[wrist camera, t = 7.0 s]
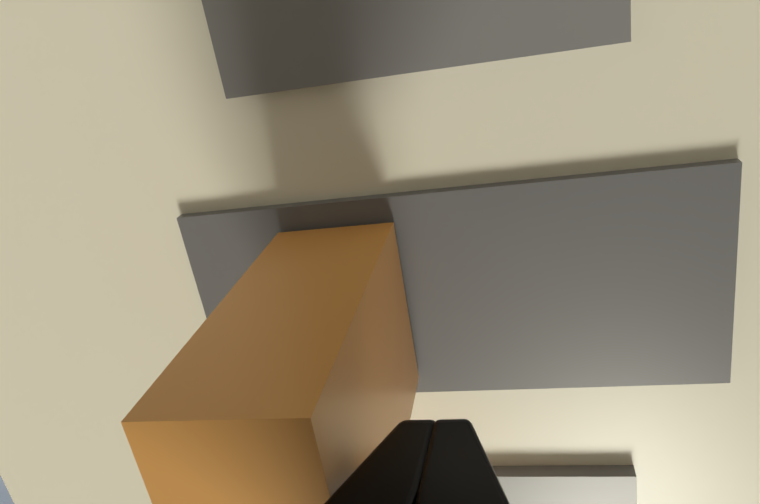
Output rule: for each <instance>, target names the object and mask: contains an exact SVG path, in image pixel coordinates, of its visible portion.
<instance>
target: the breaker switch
mask: <svg viewBox="0 0 760 504" xmlns="http://www.w3.org/2000/svg"><path fill="white" fill-rule="evenodd" d="M418 379H419V374H418V368H417V362H416V356H415V350H414V344H413V338H412V332H411V325H410V319H409V313H408V307H407V301H406V295H405V289H404V283H403V277H402V270H401V264H400V258H399V252H398V246H397V240H396V234H395V228H394V222H391V223H379V224H368V225H357V226H346V227H335V228H324V229H313V230H302V231H290V232H279V233H277V235H276V236H275V237H274V238H273V239H272V241H271V242H270V243H269V244H268V245H267V247H266V248H265V249H264V250H263V251H262V253H261V254H260V255H259V256H258V257H257V259H256V260H255V261H254V262H253V263H252V265H251V266H250V267H249V268H248V269H247V271H246V272H245V273H244V274H243V275H242V277H241V278H240V279H239V280H238V281H237V283H236V284H235V285H234V286H233V288H232V289H231V290H230V291H229V292H228V294H227V295H226V296H225V297H224V298H223V300H222V301H221V302H220V303H219V304H218V306H217V307H216V308H215V309H214V310H213V312H212V313H211V314H210V315H209V316H208V318H207V319H206V320H205V321H204V322H203V324H202V325H201V326H200V327H199V328H198V330H197V331H196V332H195V333H194V334H193V336H192V337H191V338H190V339H189V341H188V342H187V343H186V344H185V345H184V347H183V348H182V349H181V350H180V351H179V353H178V354H177V355H176V356H175V357H174V359H173V360H172V361H171V362H170V363H169V365H168V366H167V367H166V368H165V369H164V371H163V372H162V373H161V374H160V375H159V377H158V378H157V379H156V380H155V381H154V383H153V384H152V385H151V386H150V388H149V389H148V390H147V391H146V392H145V394H144V395H143V396H142V397H141V398H140V400H139V401H138V402H137V403H136V404H135V406H134V407H133V408H132V409H131V410H130V412H129V413H128V414H127V415H126V416H125V418H124V419H123V420H122V421H121V424H122V427H123V429H124V432H125V434H126V437H127V440H128V442H129V445H130V447H131V450H132V453H133V455H134V458H135V460H136V463H137V466H138V468H139V471H140V473H141V476H142V479H143V481H144V484H145V486H146V489H147V492H148V494H149V497H150V499H151V502H152V504H324V503H325V502H326V501H327V500H328V499H329V498H330V497H331V496H332V495H333V493H334V492H335V491H336V490H337V489H338V488H339V487H340V486H341V485H342V484H343V483H344V482H345V481H346V479H347V478H348V477H349V476H350V475H351V474H352V473H353V472H354V471H355V470H356V469H357V468H358V467H359V465H360V464H361V463H362V462H363V461H364V460H365V459H366V458H367V457H368V456H369V455H370V454H371V453H372V451H373V450H374V449H375V448H376V447H377V446H378V445H379V444H380V443H381V442H382V441H383V440H384V439H385V437H386V436H387V435H388V434H389V433H390V432H391V431H392V430H393V429H394V428H395V427H396V426H397V425H398V424H399V423H400V422H402V421H404V420H410V418H411V413H412V408H413V404H414V399H415V394H416V389H417V384H418Z"/></svg>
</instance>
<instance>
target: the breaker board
mask: <svg viewBox="0 0 760 504" xmlns="http://www.w3.org/2000/svg"><path fill="white" fill-rule="evenodd" d="M391 222H394V228H395V234H396V240H397V246H398V252H399V258H400V264H401V270H402V277H403V283H404V289H405V295H406V301H407V307H408V313H409V319H410V325H411V332H412V338H413V344H414V350H415V356H416V362H417V368H418V374H419V379H418V384H417V389H416V394H415V399H414V404H413V408H412V413H411V418H410V420H434V421H435V422H436V421H437V420H440V419H467V420H469V421H470V422H471V423H472V425H473V427H474V429H475V431H476V433H477V436H478V438H479V440H480V442H481V444H482V446H483V448H484V450H485V452H486V455H487V457H488V459H489V461H490V463H491V465H492V467H493V469H494V471H495V473H496V476H497V478H498V480H499V482H500V484H501V486H502V488H503V490H504V492H505V495H506V497H507V499H508V501H509V503H510V504H760V0H0V475H1V477H2V479H3V481H4V483H5V485H6V487H7V489H8V491H9V493H10V495H11V498H12V500H13V502H14V504H152V502H151V499H150V497H149V494H148V492H147V489H146V486H145V484H144V481H143V479H142V476H141V473H140V471H139V468H138V466H137V463H136V460H135V458H134V455H133V453H132V450H131V447H130V445H129V442H128V440H127V437H126V434H125V432H124V429H123V427H122V424H121V421H122V420H123V419H124V418H125V416H126V415H127V414H128V413H129V412H130V410H131V409H132V408H133V407H134V406H135V404H136V403H137V402H138V401H139V400H140V398H141V397H142V396H143V395H144V394H145V392H146V391H147V390H148V389H149V388H150V386H151V385H152V384H153V383H154V381H155V380H156V379H157V378H158V377H159V375H160V374H161V373H162V372H163V371H164V369H165V368H166V367H167V366H168V365H169V363H170V362H171V361H172V360H173V359H174V357H175V356H176V355H177V354H178V353H179V351H180V350H181V349H182V348H183V347H184V345H185V344H186V343H187V342H188V341H189V339H190V338H191V337H192V336H193V334H194V333H195V332H196V331H197V330H198V328H199V327H200V326H201V325H202V324H203V322H204V321H205V320H206V319H207V318H208V316H209V315H210V314H211V313H212V312H213V310H214V309H215V308H216V307H217V306H218V304H219V303H220V302H221V301H222V300H223V298H224V297H225V296H226V295H227V294H228V292H229V291H230V290H231V289H232V288H233V286H234V285H235V284H236V283H237V281H238V280H239V279H240V278H241V277H242V275H243V274H244V273H245V272H246V271H247V269H248V268H249V267H250V266H251V265H252V263H253V262H254V261H255V260H256V259H257V257H258V256H259V255H260V254H261V253H262V251H263V250H264V249H265V248H266V247H267V245H268V244H269V243H270V242H271V241H272V239H273V238H274V237H275V236H276V235H277V233H279V232H290V231H302V230H313V229H324V228H335V227H346V226H357V225H368V224H379V223H391Z"/></svg>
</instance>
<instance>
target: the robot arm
mask: <svg viewBox="0 0 760 504" xmlns="http://www.w3.org/2000/svg"><path fill="white" fill-rule="evenodd" d="M324 504H510V503H509V501H508V499H507V497H506V495H505V492H504V490H503V488H502V486H501V484H500V482H499V480H498V478H497V476H496V473H495V471H494V469H493V467H492V465H491V463H490V461H489V459H488V457H487V455H486V452H485V450H484V448H483V446H482V444H481V442H480V440H479V438H478V436H477V433H476V431H475V429H474V427H473V425H472V423H471V422H470V421H469V420H467V419H440V420H437V421H436V422H435V421H434V420H404V421H402V422H400V423H399V424H398V425H397V426H396V427H395V428H394V429H393V430H392V431H391V432H390V433H389V434H388V435H387V436H386V437H385V439H384V440H383V441H382V442H381V443H380V444H379V445H378V446H377V447H376V448H375V449H374V450H373V451H372V453H371V454H370V455H369V456H368V457H367V458H366V459H365V460H364V461H363V462H362V463H361V464H360V465H359V467H358V468H357V469H356V470H355V471H354V472H353V473H352V474H351V475H350V476H349V477H348V478H347V479H346V481H345V482H344V483H343V484H342V485H341V486H340V487H339V488H338V489H337V490H336V491H335V492H334V493H333V495H332V496H331V497H330V498H329V499H328V500H327V501H326V502H325V503H324Z"/></svg>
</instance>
